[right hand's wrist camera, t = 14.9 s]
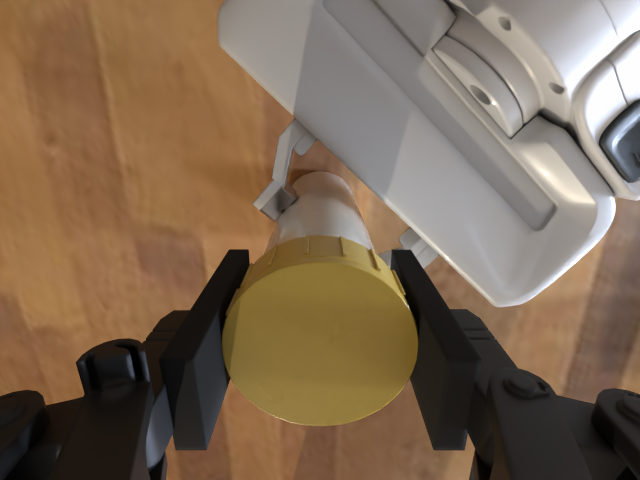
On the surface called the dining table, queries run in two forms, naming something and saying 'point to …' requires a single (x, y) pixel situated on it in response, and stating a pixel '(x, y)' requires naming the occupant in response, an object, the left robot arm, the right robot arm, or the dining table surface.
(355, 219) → the jar
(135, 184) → the dining table surface
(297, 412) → the lid
